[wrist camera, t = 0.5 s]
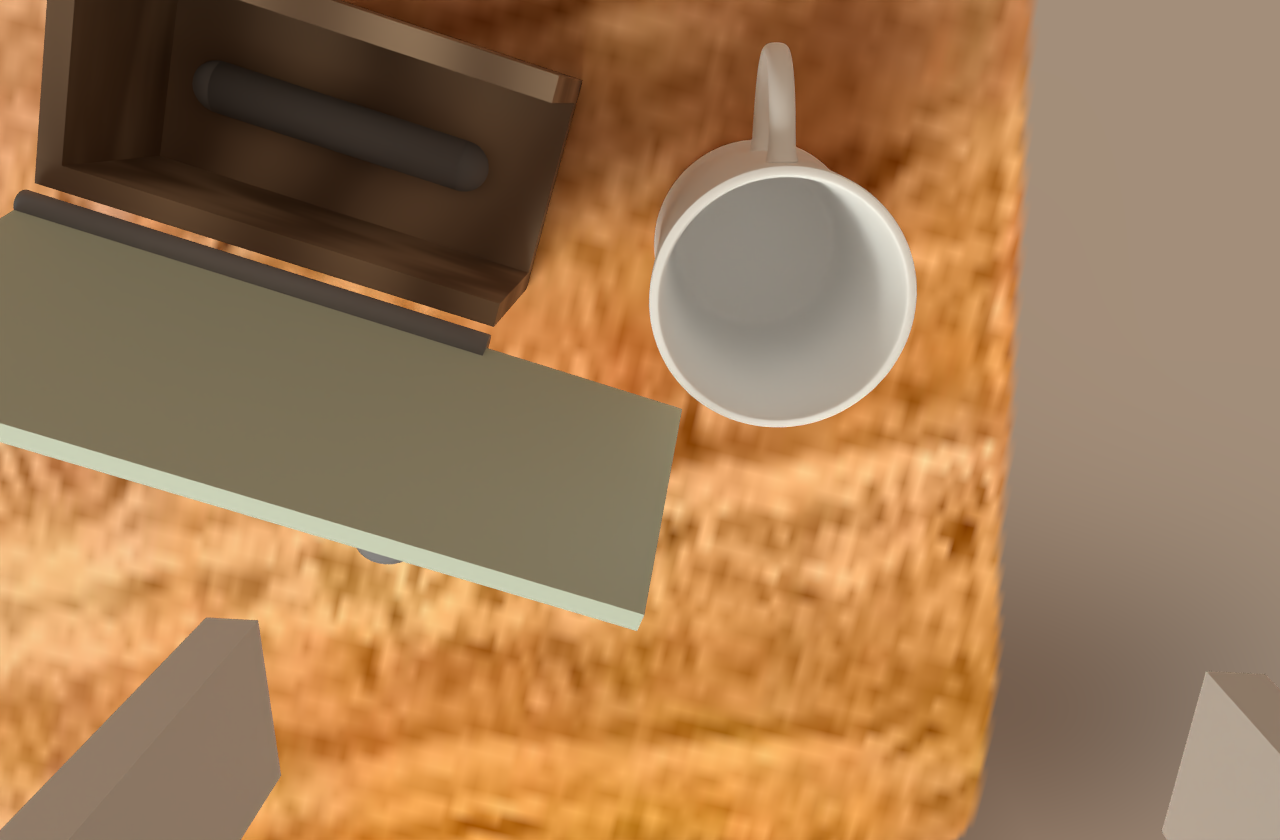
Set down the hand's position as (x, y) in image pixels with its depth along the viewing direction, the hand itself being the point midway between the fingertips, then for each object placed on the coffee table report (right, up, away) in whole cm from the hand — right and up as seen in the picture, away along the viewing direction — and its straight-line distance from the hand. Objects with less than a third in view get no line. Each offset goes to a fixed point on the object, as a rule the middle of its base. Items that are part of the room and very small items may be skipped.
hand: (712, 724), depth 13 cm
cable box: (-13, +17, +25) cm, 32 cm away
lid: (-12, +6, +16) cm, 20 cm away
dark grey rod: (-13, +16, +24) cm, 32 cm away
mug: (+4, +13, +25) cm, 29 cm away
